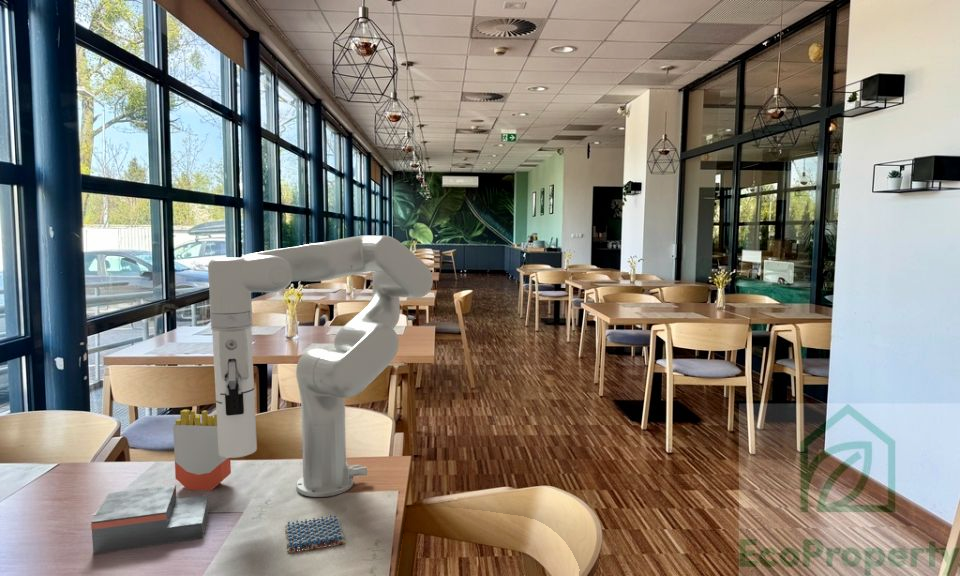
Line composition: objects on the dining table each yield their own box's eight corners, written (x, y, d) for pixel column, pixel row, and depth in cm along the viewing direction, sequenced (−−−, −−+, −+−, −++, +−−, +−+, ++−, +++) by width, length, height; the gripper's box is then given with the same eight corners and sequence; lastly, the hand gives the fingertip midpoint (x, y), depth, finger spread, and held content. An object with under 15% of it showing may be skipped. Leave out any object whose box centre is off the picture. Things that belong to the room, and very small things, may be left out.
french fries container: (187, 481, 143) (184, 405, 141) (232, 482, 142) (229, 406, 140) (175, 489, 139) (172, 410, 137) (222, 491, 138) (219, 412, 136)
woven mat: (338, 522, 124) (338, 512, 124) (346, 547, 114) (345, 537, 114) (284, 530, 121) (284, 520, 120) (287, 557, 111) (286, 546, 110)
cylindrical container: (243, 458, 119) (237, 331, 117) (210, 456, 121) (204, 330, 118) (263, 446, 126) (258, 325, 124) (232, 443, 128) (226, 324, 125)
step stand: (208, 508, 129) (207, 481, 128) (202, 538, 116) (201, 508, 116) (110, 521, 123) (108, 492, 122) (92, 554, 110) (90, 522, 110)
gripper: (251, 326, 114) (255, 419, 116) (253, 313, 130) (256, 395, 132) (206, 328, 112) (211, 424, 113) (214, 315, 128) (218, 399, 130)
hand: (236, 408), depth 123 cm, fingers closed on cylindrical container, 7 cm apart
